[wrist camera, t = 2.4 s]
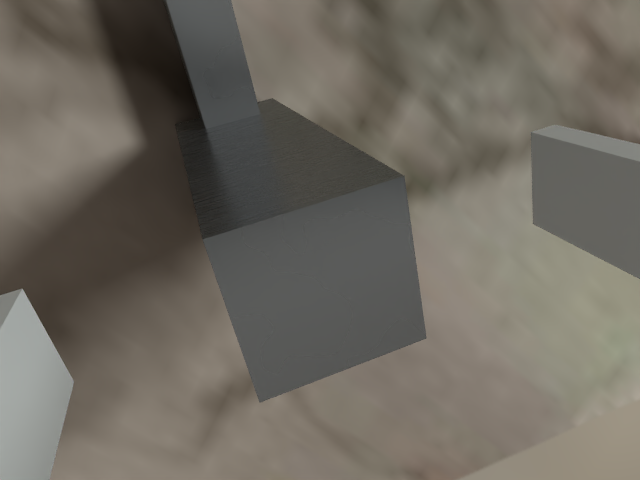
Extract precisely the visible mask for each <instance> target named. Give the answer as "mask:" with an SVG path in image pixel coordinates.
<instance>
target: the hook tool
mask: <svg viewBox="0 0 640 480" xmlns="http://www.w3.org/2000/svg"><path fill="white" fill-rule="evenodd" d="M163 1H164V4H165V7H166V11H167V14H168V17H169V20H170V23H171V26H172V30H173V33H174V36H175V39H176V42H177V46H178V49H179V52H180V55H181V58H182V62H183V65H184V68H185V71H186V74H187V77H188V81H189V84H190V87H191V90H192V93H193V97H194V100H195V103H196V106H197V109H198V113H199V116H200V118H198V119H194V120H190V121H187V122H183V123H179V124H176V125H175V126H176V130H177V134H178V139H179V143H180V147H181V151H182V155H183V159H184V164H185V168H186V172H187V176H188V180H189V185H190V189H191V193H192V197H193V201H194V205H195V210H196V214H197V218H198V222H199V226H200V231H201V235H202V239H203V242H204V245H205V248H206V251H207V253H208V256H209V259H210V262H211V265H212V268H213V271H214V273H215V276H216V279H217V282H218V285H219V288H220V291H221V293H222V296H223V299H224V302H225V305H226V308H227V311H228V313H229V316H230V319H231V322H232V325H233V328H234V331H235V333H236V336H237V339H238V342H239V345H240V348H241V351H242V353H243V356H244V359H245V362H246V365H247V368H248V371H249V373H250V376H251V379H252V382H253V385H254V388H255V391H256V393H257V396H258V399H259V402H263V401H265V400H268V399H270V398H273V397H276V396H278V395H281V394H283V393H286V392H289V391H291V390H294V389H296V388H299V387H302V386H304V385H307V384H309V383H312V382H314V381H317V380H320V379H322V378H325V377H327V376H330V375H333V374H335V373H338V372H340V371H343V370H346V369H348V368H351V367H353V366H356V365H359V364H361V363H364V362H366V361H369V360H372V359H374V358H377V357H379V356H382V355H385V354H387V353H390V352H392V351H395V350H397V349H400V348H403V347H405V346H408V345H410V344H413V343H416V342H418V341H421V340H423V339H426V331H425V324H424V317H423V309H422V302H421V295H420V287H419V280H418V273H417V265H416V258H415V251H414V244H413V236H412V229H411V222H410V214H409V207H408V200H407V192H406V185H405V178H404V175H402V174H400V173H398V172H397V171H395V170H393V169H392V168H390V167H388V166H387V165H385V164H383V163H381V162H380V161H378V160H376V159H375V158H373V157H371V156H370V155H368V154H366V153H364V152H363V151H361V150H359V149H358V148H356V147H354V146H353V145H351V144H349V143H347V142H346V141H344V140H342V139H341V138H339V137H337V136H336V135H334V134H332V133H330V132H329V131H327V130H325V129H324V128H322V127H320V126H319V125H317V124H315V123H313V122H312V121H310V120H308V119H307V118H305V117H303V116H302V115H300V114H298V113H296V112H295V111H293V110H291V109H290V108H288V107H286V106H285V105H283V104H281V103H279V102H278V101H276V100H274V99H273V98H272V99H268V100H265V101H261V102H257V99H256V96H255V92H254V88H253V84H252V80H251V76H250V72H249V69H248V65H247V61H246V57H245V53H244V49H243V45H242V41H241V38H240V34H239V30H238V26H237V22H236V18H235V14H234V11H233V7H232V3H231V0H163Z"/></svg>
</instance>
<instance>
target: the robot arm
mask: <svg viewBox="0 0 640 480" xmlns="http://www.w3.org/2000/svg"><path fill="white" fill-rule="evenodd" d="M531 157H532V201H533V224H534V225H536V226H538V227H540V228H542V229H544V230H546V231H548V232H550V233H552V234H554V235H556V236H558V237H559V238H561V239H563V240H565V241H567V242H569V243H571V244H573V245H575V246H577V247H579V248H581V249H583V250H585V251H587V252H589V253H590V254H592V255H594V256H596V257H598V258H600V259H602V260H604V261H606V262H608V263H610V264H612V265H614V266H616V267H618V268H620V269H621V270H623V271H625V272H627V273H629V274H631V275H633V276H635V277H637V278H639V279H640V144H636V143H632V142H627V141H623V140H619V139H615V138H610V137H606V136H602V135H597V134H593V133H589V132H585V131H580V130H576V129H572V128H568V127H563V126H559V125H553V126H549V127H546V128H543V129H540V130H536V131H533V132H531ZM73 384H74V381H73V379H72V377H71V375H70V373H69V372H68V370H67V368H66V366H65V364H64V363H63V361H62V359H61V357H60V355H59V354H58V352H57V350H56V348H55V346H54V345H53V343H52V341H51V339H50V337H49V336H48V334H47V332H46V330H45V328H44V327H43V325H42V323H41V321H40V319H39V318H38V316H37V314H36V312H35V310H34V309H33V307H32V305H31V303H30V301H29V300H28V298H27V296H26V294H25V292H24V291H23V289H19V290H16V291H12V292H9V293H6V294H3V295H0V480H49V479H50V475H51V471H52V467H53V463H54V459H55V455H56V451H57V447H58V443H59V439H60V435H61V431H62V427H63V424H64V420H65V416H66V412H67V408H68V404H69V400H70V396H71V392H72V388H73Z"/></svg>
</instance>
